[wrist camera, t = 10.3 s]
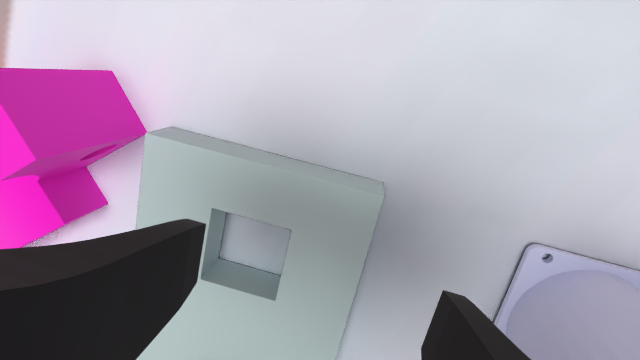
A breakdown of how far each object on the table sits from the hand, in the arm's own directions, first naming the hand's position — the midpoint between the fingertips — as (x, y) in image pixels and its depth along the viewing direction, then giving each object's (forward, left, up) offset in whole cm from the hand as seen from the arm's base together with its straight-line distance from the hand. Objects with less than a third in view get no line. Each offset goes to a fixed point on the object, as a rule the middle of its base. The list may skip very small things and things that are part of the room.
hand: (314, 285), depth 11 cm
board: (+4, +9, -10) cm, 14 cm away
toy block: (+18, +4, -10) cm, 21 cm away
